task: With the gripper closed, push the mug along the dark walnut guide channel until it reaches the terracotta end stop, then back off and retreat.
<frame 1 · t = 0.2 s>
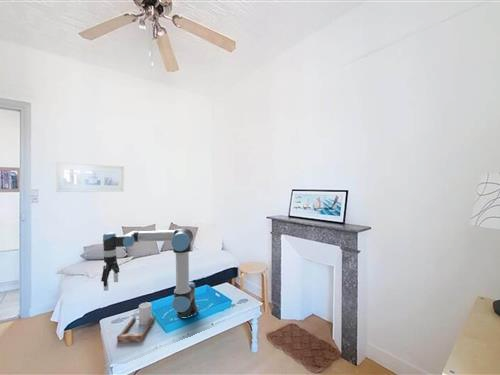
hand: (111, 286, 175), 28 cm above the table, fingers open, 13 cm apart
guide: (138, 329, 170), on the table
mug: (143, 322, 179), on the table
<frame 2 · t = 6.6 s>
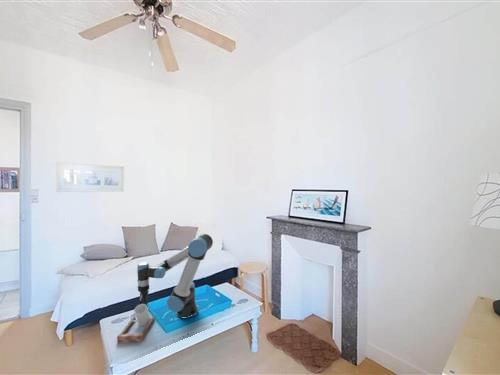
hand: (144, 316, 183), 2 cm above the table, fingers closed
mug: (142, 321, 178), point 1 cm above the table, touching gripper, hand
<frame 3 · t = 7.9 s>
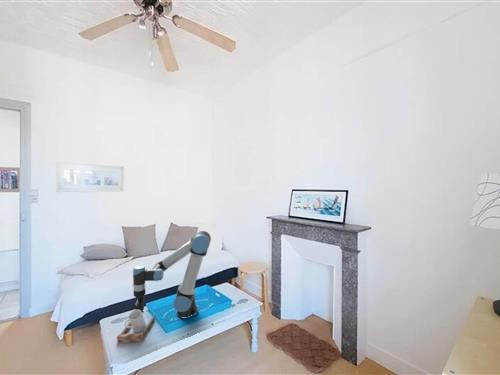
hand: (140, 322, 176), 2 cm above the table, fingers closed
mug: (137, 327, 171), point 1 cm above the table, touching gripper, hand
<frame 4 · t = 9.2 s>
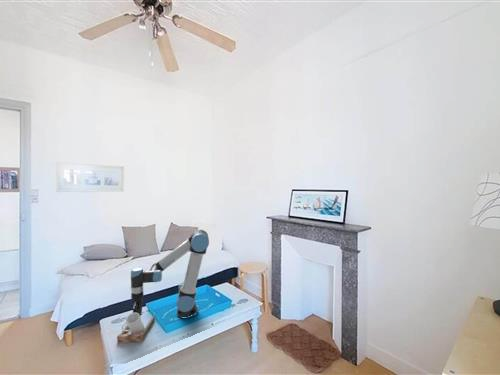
hand: (138, 325, 172), 2 cm above the table, fingers closed
mug: (135, 331, 167), point 1 cm above the table, touching gripper, hand
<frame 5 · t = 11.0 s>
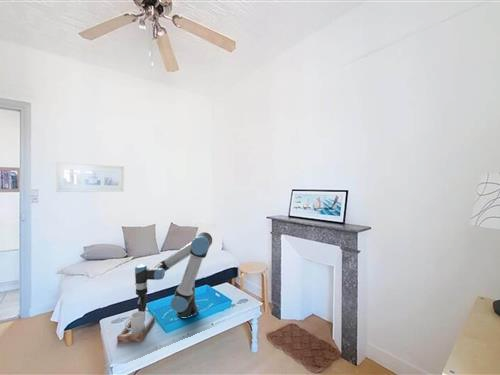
hand: (142, 320, 178), 2 cm above the table, fingers closed
mug: (135, 333, 167), on the table
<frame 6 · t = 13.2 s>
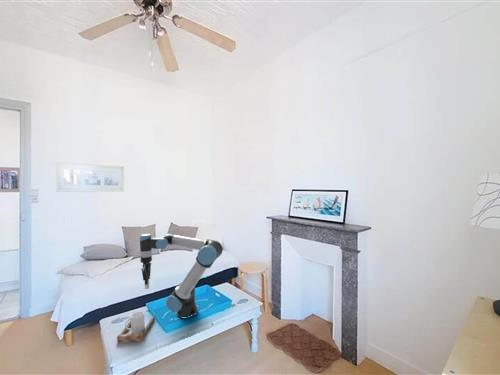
hand: (147, 288, 183), 22 cm above the table, fingers closed
nothing on the table moved.
at the end: mug inside the target area (1.4 cm from its centre), on the table; mug tilted 0°; the gripper is holding nothing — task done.
